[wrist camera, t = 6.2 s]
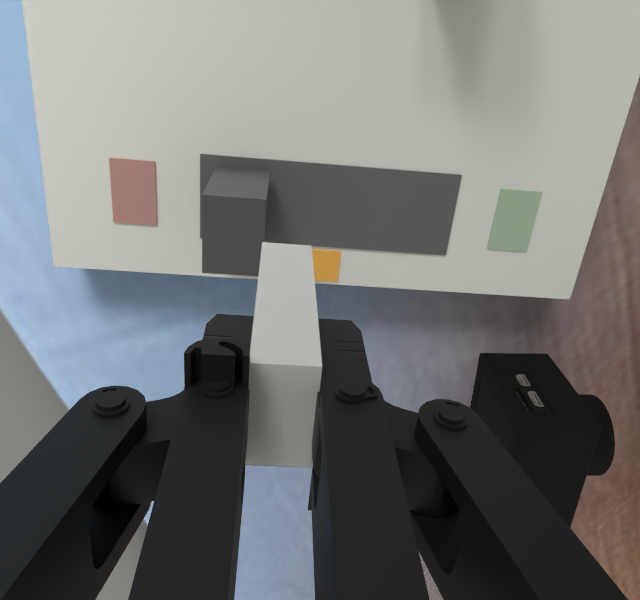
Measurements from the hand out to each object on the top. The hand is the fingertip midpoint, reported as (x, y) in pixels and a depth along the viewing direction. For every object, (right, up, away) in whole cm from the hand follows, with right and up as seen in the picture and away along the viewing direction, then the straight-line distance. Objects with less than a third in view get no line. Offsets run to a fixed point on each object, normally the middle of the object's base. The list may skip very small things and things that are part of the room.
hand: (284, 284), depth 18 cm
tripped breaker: (-2, +4, +9) cm, 10 cm away
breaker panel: (+2, +11, +9) cm, 14 cm away
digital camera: (+13, -8, +20) cm, 25 cm away
